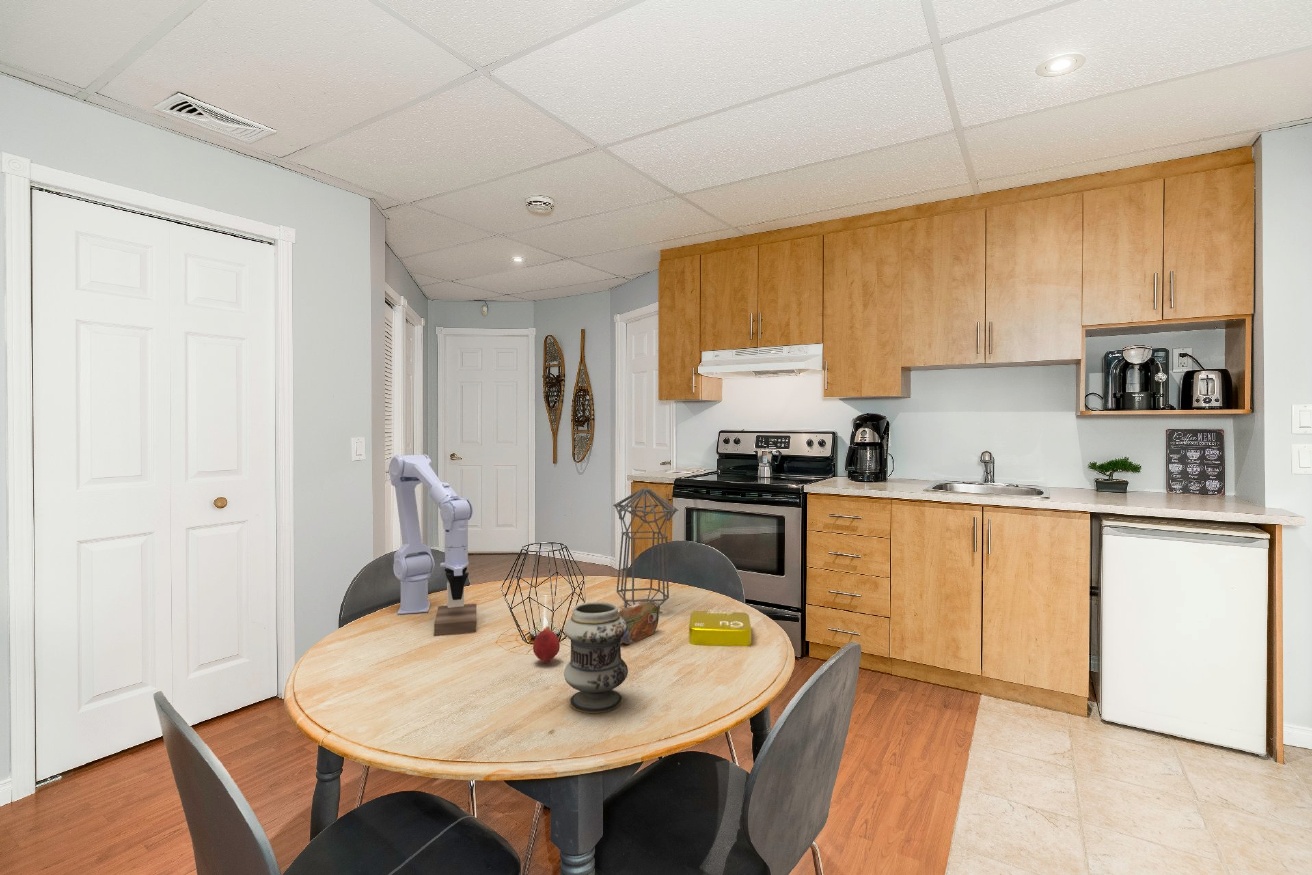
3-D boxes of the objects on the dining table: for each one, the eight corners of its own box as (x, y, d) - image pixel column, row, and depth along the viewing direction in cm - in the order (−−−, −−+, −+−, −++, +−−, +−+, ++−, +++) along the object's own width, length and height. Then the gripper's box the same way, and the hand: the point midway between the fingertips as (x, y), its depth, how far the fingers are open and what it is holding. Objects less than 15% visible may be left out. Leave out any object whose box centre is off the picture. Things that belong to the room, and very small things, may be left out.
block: (447, 603, 162) (447, 581, 162) (462, 602, 164) (462, 579, 164) (447, 607, 158) (447, 584, 158) (463, 606, 160) (463, 583, 160)
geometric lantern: (609, 606, 179) (612, 486, 179) (660, 603, 184) (663, 486, 184) (622, 621, 164) (625, 490, 164) (678, 617, 169) (680, 490, 169)
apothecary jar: (596, 683, 124) (596, 594, 124) (640, 699, 117) (641, 605, 117) (550, 703, 115) (550, 607, 115) (595, 723, 107) (596, 620, 107)
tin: (621, 648, 144) (621, 613, 144) (611, 645, 146) (611, 610, 146) (659, 632, 156) (659, 599, 156) (650, 629, 158) (650, 597, 158)
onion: (553, 668, 132) (554, 631, 132) (528, 666, 133) (528, 629, 133) (563, 658, 137) (563, 623, 137) (539, 656, 139) (539, 621, 138)
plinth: (438, 616, 168) (438, 606, 168) (476, 614, 170) (476, 603, 170) (434, 635, 152) (434, 623, 152) (476, 632, 155) (476, 620, 155)
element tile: (748, 628, 160) (748, 610, 160) (751, 648, 145) (751, 628, 145) (691, 626, 162) (691, 608, 162) (688, 646, 147) (688, 626, 147)
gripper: (439, 541, 166) (439, 591, 166) (441, 551, 153) (441, 606, 153) (466, 540, 169) (466, 589, 169) (470, 549, 155) (470, 603, 156)
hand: (456, 597), depth 161 cm, fingers closed on block, 4 cm apart
